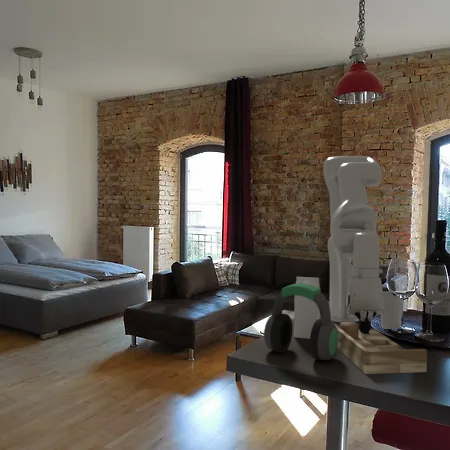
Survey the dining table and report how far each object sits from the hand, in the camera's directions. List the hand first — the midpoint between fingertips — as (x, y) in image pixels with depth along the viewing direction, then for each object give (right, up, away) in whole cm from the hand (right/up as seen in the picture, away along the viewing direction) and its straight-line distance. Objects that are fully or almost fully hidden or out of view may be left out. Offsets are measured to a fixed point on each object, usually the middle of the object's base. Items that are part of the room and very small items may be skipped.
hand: (364, 333), depth 138 cm
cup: (+14, -3, +17) cm, 23 cm away
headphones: (-21, -4, -10) cm, 24 cm away
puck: (-5, -1, -1) cm, 5 cm away
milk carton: (-16, -3, +8) cm, 18 cm away
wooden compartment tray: (-1, -4, -8) cm, 9 cm away
